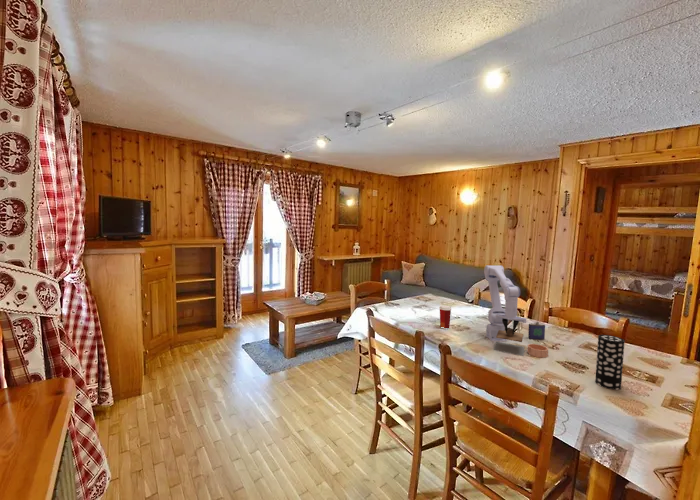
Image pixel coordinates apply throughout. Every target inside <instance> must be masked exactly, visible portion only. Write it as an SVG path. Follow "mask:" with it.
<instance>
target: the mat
mask: <svg viewBox="0 0 700 500" xmlns="http://www.w3.org/2000/svg"><path fill="white" fill-rule="evenodd" d="M493 351H497V352H502V353H506V354H511V355H516V356H521V357H524V356H525V346H523V345H522V346H521V345H518V344H513V343H512V344H511V343H506V342H502V341H495V345H494V348H493Z"/></svg>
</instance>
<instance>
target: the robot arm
mask: <svg viewBox="0 0 700 500" xmlns="http://www.w3.org/2000/svg"><path fill="white" fill-rule="evenodd" d="M483 269H484V270H483V272H484V278H485V280H486V281H487V284H488V289H489V295H490V300H491V306H492V307H491V308H490V309H489V310H488V312H487V313H488V314H487V315H488V316H487V319H488V321H489V323H487V324H486V327H485V328H486V329H485V330H486V331H485V332H486V333H485V337H486V338H487V339H489V340H490V341H491V342H502V341H503V342H508V340H506V339H501V338H496V336H497V333H498V331H499V330H502V331H506V333H507V329H508V328H509V327H508V325H509V321H512V329H513V332H512V334H513V335H514V333H515V332H516V331H515V330H516V328H517V327H518V325H519V323H525V324H526V323H527V318H525V317H521V316H520V317H519V316H518V315H517V314H518V302H519V301H518V300H519V299H518V298H519V297H520V296H521V289H520V287H519V286H516V285H514V283H513V281H512V280H511V279H510V278H508V277H506V274H505V268H504V266H503V265H501V264H500V265H490V264H489V265H488V264H486V265H485V266H484V268H483ZM498 281H499V286H500V287H501V288H502V289H503V294H504V300H505V301H504V302H505V303H504V307H502V302H501V298H500V297H501V296H500V290H499V286H498Z"/></svg>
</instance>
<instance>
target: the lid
mask: <svg viewBox="0 0 700 500" xmlns="http://www.w3.org/2000/svg"><path fill="white" fill-rule="evenodd" d="M512 332H513V328H510V327H508V329H507V333H506V330H505V331H502V330H499V331H498V333H497V336H496V338H501V339H506V340H507V341H513V342H518V343H523V338H524V333H520V332H514V335H513V334H512Z"/></svg>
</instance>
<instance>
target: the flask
mask: <svg viewBox="0 0 700 500" xmlns="http://www.w3.org/2000/svg"><path fill="white" fill-rule="evenodd" d="M545 337H546V324H544V323H540V321H536V322H534V323H533V322H531V323H528V337H527V338H529V339H528V340H531V339H533V340H534V341H536V340H537V341H541V340H545ZM533 340H532V341H533Z"/></svg>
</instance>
